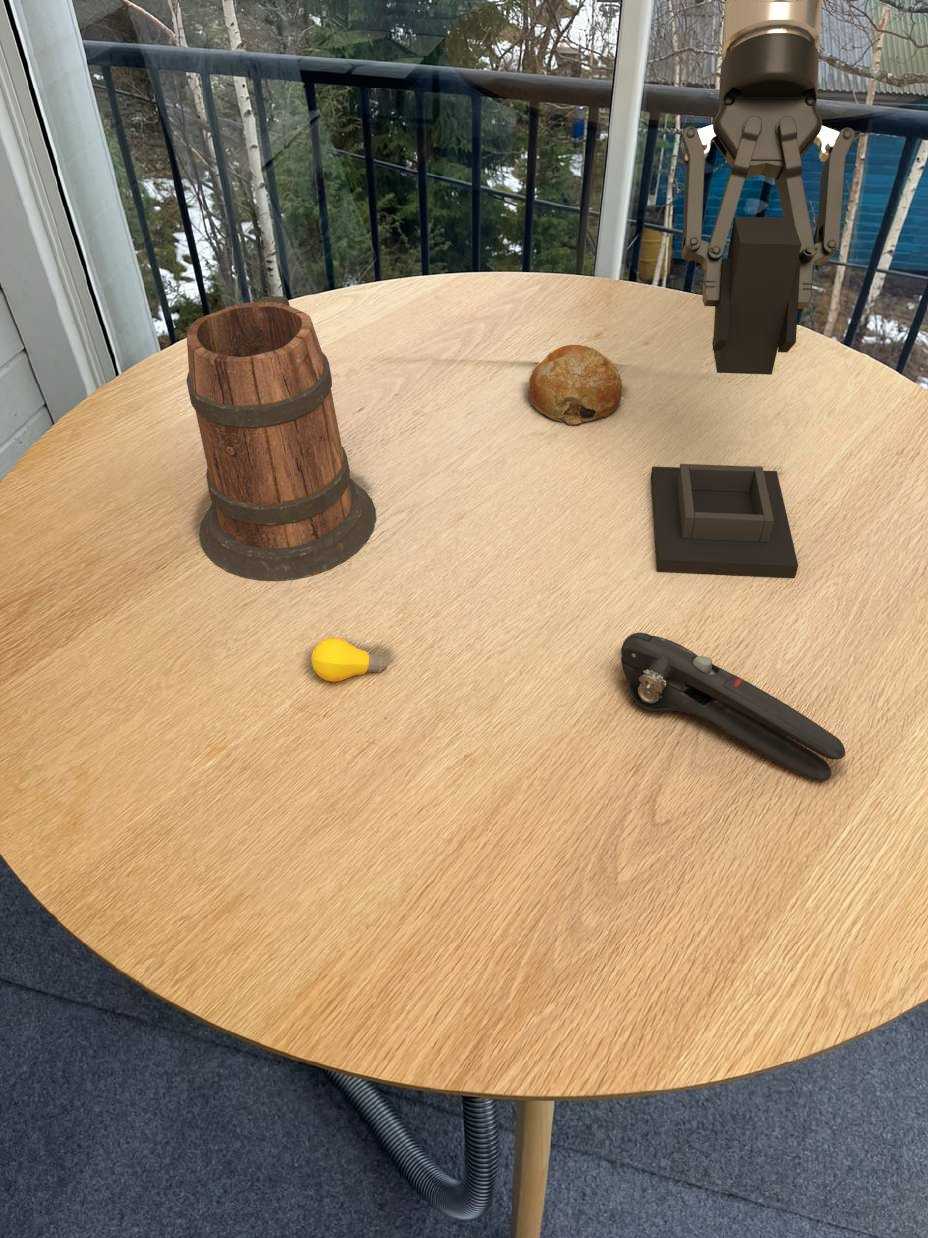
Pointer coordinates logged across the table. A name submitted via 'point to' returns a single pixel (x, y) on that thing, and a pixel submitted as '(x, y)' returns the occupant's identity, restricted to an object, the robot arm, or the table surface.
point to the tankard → (272, 445)
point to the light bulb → (343, 660)
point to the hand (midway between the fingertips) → (753, 345)
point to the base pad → (721, 521)
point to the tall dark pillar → (758, 292)
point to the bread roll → (575, 385)
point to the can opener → (725, 704)
